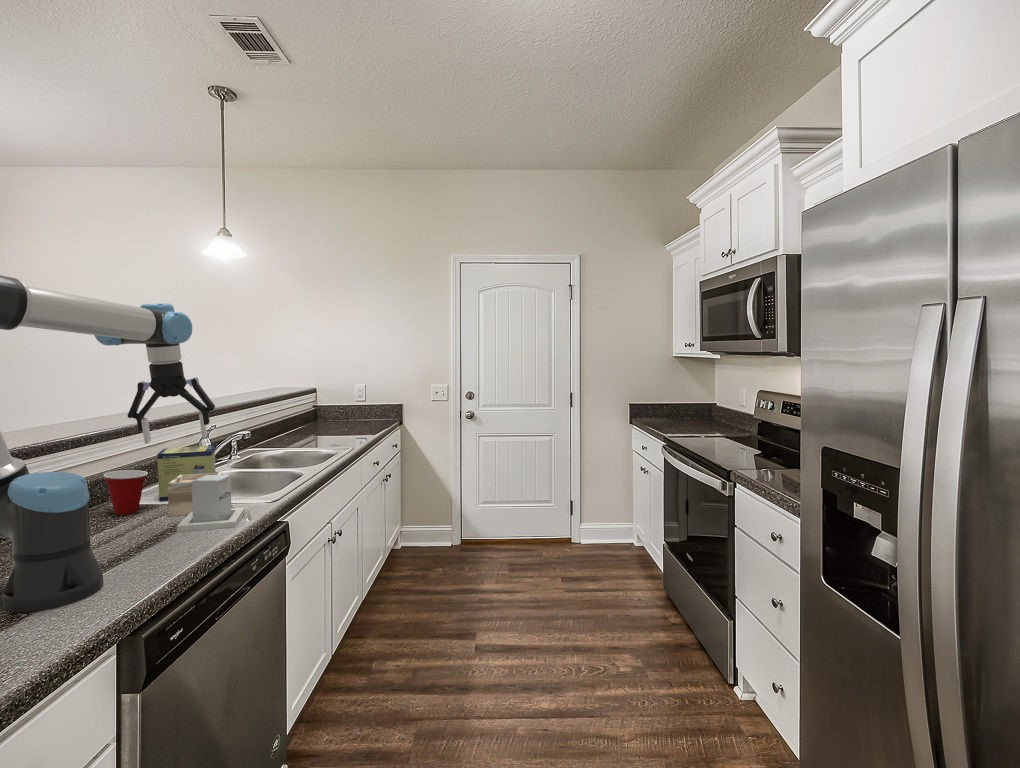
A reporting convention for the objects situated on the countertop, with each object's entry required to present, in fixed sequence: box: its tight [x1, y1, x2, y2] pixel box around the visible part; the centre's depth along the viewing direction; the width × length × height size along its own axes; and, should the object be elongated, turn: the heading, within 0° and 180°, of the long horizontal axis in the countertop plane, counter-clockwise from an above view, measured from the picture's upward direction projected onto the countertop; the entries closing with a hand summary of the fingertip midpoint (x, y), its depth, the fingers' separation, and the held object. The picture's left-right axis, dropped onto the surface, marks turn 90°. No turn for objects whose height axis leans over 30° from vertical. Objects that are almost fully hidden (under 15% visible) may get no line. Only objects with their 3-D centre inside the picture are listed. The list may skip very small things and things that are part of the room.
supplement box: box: [192, 474, 232, 523], centre depth 151 cm, size 7×7×13 cm
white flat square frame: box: [176, 507, 246, 533], centre depth 152 cm, size 14×14×2 cm
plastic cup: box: [103, 469, 149, 516], centre depth 160 cm, size 11×11×12 cm
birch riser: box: [167, 471, 224, 517], centre depth 164 cm, size 12×12×10 cm
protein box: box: [156, 445, 217, 502], centre depth 179 cm, size 10×16×16 cm
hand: (176, 439), depth 147 cm, fingers open, 13 cm apart
